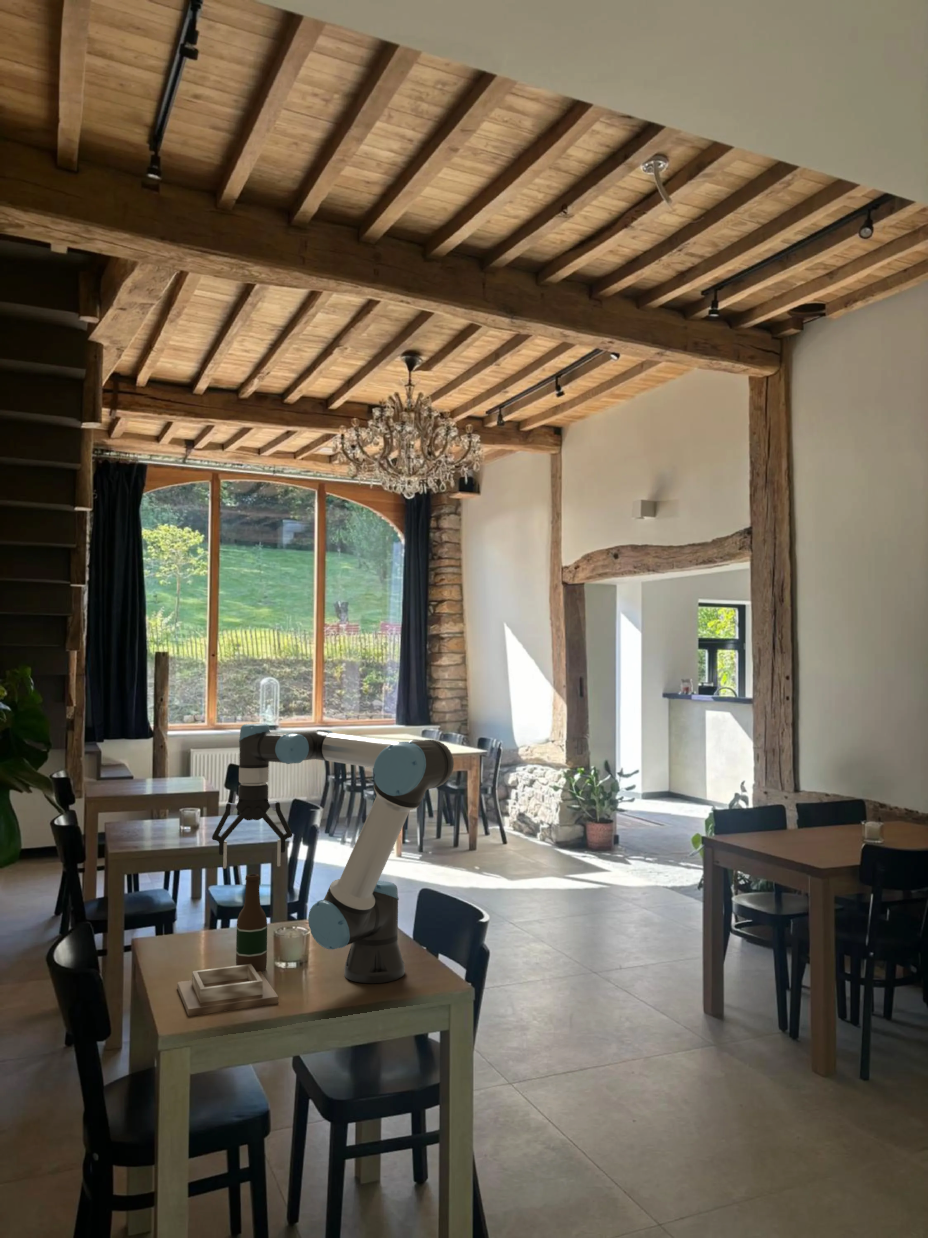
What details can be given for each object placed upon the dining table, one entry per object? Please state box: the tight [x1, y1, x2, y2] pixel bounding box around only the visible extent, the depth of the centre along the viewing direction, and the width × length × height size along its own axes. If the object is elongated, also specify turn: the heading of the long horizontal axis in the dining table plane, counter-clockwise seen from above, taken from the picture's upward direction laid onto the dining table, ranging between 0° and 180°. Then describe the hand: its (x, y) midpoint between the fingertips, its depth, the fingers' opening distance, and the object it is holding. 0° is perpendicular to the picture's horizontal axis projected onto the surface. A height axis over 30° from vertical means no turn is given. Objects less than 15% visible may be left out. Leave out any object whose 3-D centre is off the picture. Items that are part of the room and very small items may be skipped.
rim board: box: [177, 964, 279, 1017], centre depth 217 cm, size 20×20×4 cm
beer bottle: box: [235, 873, 268, 973], centre depth 236 cm, size 8×8×24 cm
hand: (251, 866), depth 237 cm, fingers open, 13 cm apart
